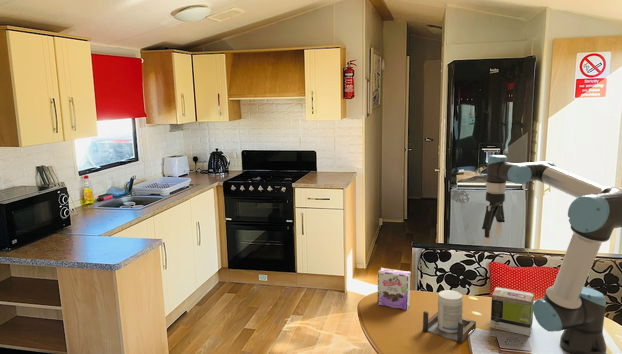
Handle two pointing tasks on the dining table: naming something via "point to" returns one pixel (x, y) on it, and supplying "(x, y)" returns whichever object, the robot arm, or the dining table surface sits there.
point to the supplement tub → (449, 310)
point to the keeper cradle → (433, 328)
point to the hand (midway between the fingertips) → (492, 240)
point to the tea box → (512, 310)
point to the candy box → (394, 288)
